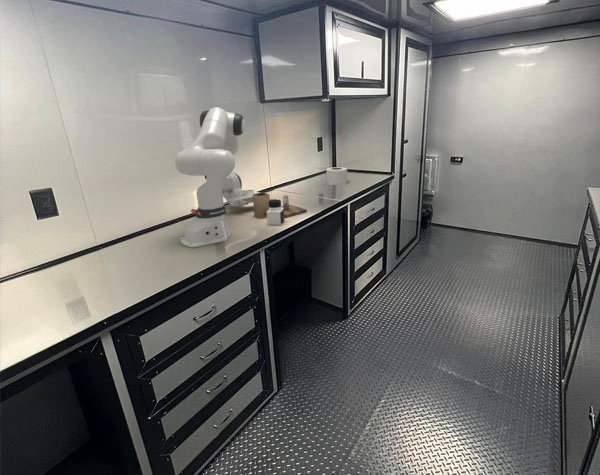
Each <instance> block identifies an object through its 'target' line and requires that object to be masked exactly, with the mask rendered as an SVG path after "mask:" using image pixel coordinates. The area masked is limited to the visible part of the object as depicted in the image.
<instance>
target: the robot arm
mask: <svg viewBox="0 0 600 475" xmlns="http://www.w3.org/2000/svg"><path fill="white" fill-rule="evenodd" d="M199 126H200V131H199V134H198V135H197V137H196V139H195V140H193V142H191V144H190V145H189V146H188V147H187V148H185V149H183V150H181V151H179V152H177V154H176V156H175V159H174V160H175V162H174V163H175V168H176V169H177V171H178V172H179V173H180V174H182V175H186V176H191V177H192V176H193V177H195V176H196V177H197V176H202V177H203V176H205V177H206V181H205V182H204V183H202V184H201V185H199V186H198V188H197V189H196V194H195V195H196V199H197V208H196V209H195V208H191V210H190V212H191V213H192V214H193V215H195V217H194V218H193V219H192V220H191V221H190V222H189V223H188V224H187V225H186V226H185V229H184V236H183V237H182V236H181V237H180V240H179V241H180V242H179V243H180V244H182V246H185V247H188V248H192V249H193V248H199V247H203V246H209V245H214V244H217V243H222V242H227V240H228V238H230V237H231V236H232V233H231V232H232V231H231V230H230V228H229V224H228V222H227V221H228V220H227V211H226V205H225V204H224V200H226V203H227V204H229V205H230V206H231V207H239V206H242V207H243V206H247V205H249V204H252V203H253V194H257V193H261V192H259V191H256V190H254V189H247V190H245V189H242V188H243V183H242V179H241V176H240V175H239V174H237V173H236V172H234V169H235V168H236V159H235V156H234V155H235V154H236V153H237V152H238V149H239V136H242V134H244V131H245V129H246V121H245V117H244V116H243V115H242V114H240V113H237V112H235V113H234V112H231V111H229V112H228V111H226V110H225V109H223V108H222V107H217V106H215V107H214V106H213V107H212V108H210V109H207V110H203V111H202V112H201V113H200V115H199Z"/></svg>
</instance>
